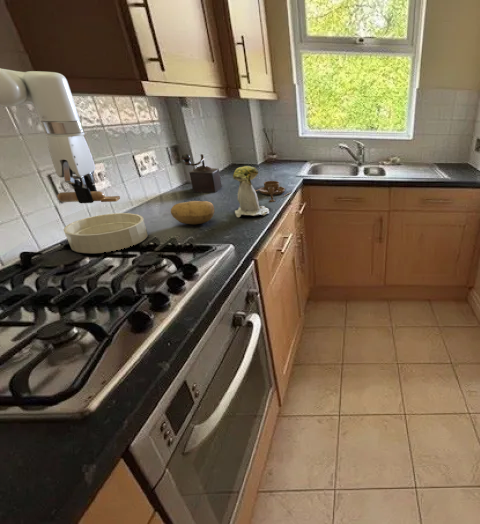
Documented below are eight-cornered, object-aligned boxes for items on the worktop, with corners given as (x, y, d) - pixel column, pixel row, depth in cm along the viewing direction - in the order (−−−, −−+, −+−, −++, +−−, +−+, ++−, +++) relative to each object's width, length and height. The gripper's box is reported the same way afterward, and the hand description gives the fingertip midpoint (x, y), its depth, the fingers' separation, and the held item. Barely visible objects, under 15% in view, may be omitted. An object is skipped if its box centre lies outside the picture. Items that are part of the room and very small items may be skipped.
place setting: (295, 191, 162) (294, 179, 160) (274, 202, 145) (273, 189, 142) (263, 188, 166) (261, 176, 163) (239, 198, 149) (237, 185, 146)
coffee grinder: (199, 187, 164) (191, 149, 156) (222, 187, 165) (216, 149, 157) (186, 195, 150) (177, 154, 142) (212, 195, 151) (204, 154, 143)
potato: (177, 220, 121) (172, 198, 118) (218, 218, 125) (215, 197, 121) (170, 229, 113) (164, 207, 109) (214, 227, 116) (210, 205, 113)
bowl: (57, 257, 92) (48, 237, 89) (88, 232, 109) (82, 214, 106) (137, 251, 97) (131, 232, 94) (155, 228, 114) (150, 211, 111)
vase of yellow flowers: (268, 218, 127) (263, 169, 119) (233, 219, 124) (225, 169, 116) (269, 208, 137) (265, 163, 129) (236, 209, 134) (229, 163, 126)
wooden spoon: (57, 203, 87) (53, 194, 86) (62, 200, 90) (59, 191, 88) (116, 201, 91) (113, 192, 89) (120, 198, 93) (117, 189, 92)
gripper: (63, 125, 88) (87, 193, 96) (24, 132, 74) (56, 210, 82) (96, 126, 90) (117, 192, 98) (64, 132, 76) (91, 209, 84)
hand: (89, 200), depth 90 cm, fingers closed on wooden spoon, 2 cm apart
